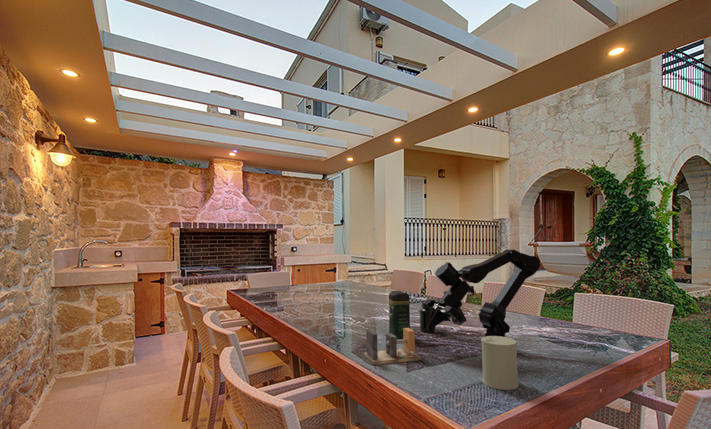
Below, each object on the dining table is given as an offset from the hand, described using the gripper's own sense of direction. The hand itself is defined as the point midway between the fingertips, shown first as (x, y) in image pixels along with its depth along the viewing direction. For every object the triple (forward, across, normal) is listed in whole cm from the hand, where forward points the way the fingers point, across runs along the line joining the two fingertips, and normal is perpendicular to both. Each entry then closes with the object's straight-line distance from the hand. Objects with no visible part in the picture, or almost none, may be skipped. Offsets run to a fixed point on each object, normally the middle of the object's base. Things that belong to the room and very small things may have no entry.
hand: (428, 328), depth 123 cm
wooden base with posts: (+16, 0, +4) cm, 16 cm away
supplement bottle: (-4, +30, -16) cm, 34 cm away
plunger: (+13, -1, +3) cm, 13 cm away
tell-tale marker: (+14, -4, +4) cm, 15 cm away
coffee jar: (+7, +24, -5) cm, 26 cm away
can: (+1, -28, -11) cm, 31 cm away
